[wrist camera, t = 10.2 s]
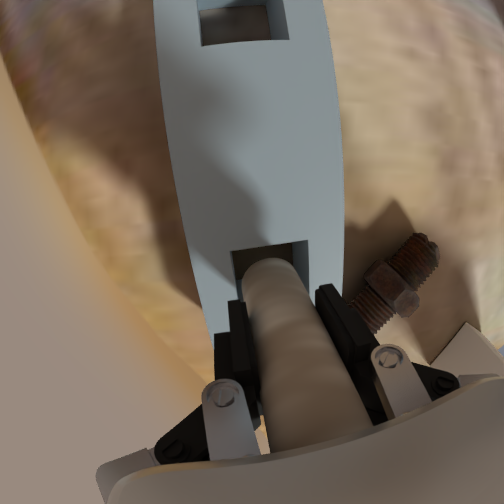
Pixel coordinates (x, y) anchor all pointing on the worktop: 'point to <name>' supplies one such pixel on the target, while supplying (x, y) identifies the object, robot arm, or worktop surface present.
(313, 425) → the peg
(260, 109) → the hole block
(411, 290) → the bolt
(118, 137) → the worktop surface
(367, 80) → the worktop surface
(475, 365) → the milk carton
